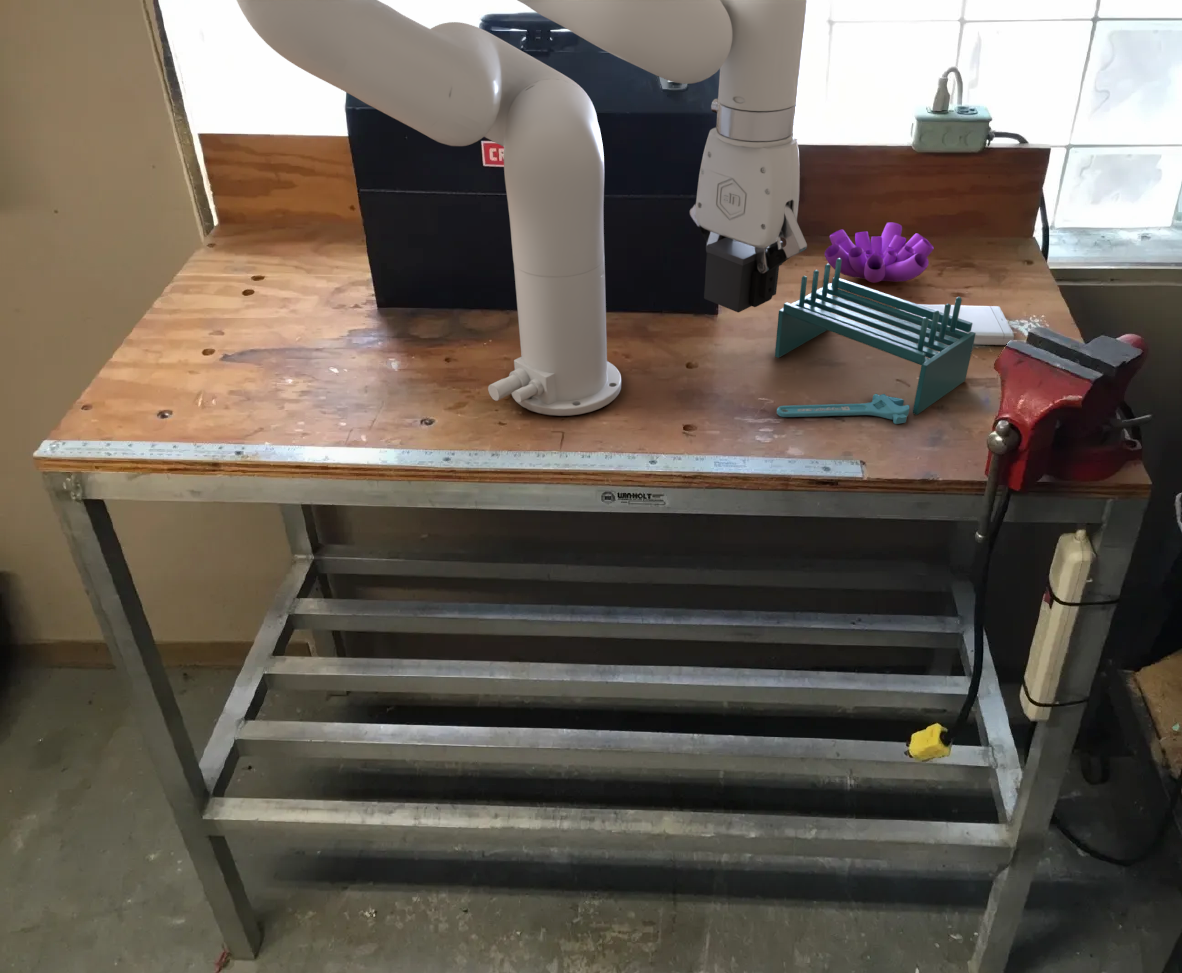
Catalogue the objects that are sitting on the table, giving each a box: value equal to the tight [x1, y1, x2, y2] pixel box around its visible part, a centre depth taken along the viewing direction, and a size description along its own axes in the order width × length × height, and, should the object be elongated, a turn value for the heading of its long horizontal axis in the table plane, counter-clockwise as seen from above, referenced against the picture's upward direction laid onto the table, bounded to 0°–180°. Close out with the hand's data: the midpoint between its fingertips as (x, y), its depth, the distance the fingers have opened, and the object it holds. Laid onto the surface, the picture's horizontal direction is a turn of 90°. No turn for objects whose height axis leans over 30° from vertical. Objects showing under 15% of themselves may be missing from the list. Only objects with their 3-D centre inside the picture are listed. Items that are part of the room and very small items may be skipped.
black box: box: [703, 237, 784, 313], centre depth 105 cm, size 7×5×6 cm
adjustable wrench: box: [776, 393, 911, 425], centre depth 105 cm, size 14×1×5 cm
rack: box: [774, 258, 976, 416], centre depth 111 cm, size 10×19×10 cm, turn 43°
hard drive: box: [896, 303, 1015, 346], centre depth 120 cm, size 2×8×12 cm
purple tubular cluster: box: [824, 222, 934, 284], centre depth 131 cm, size 11×15×10 cm
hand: (740, 292), depth 106 cm, fingers closed on black box, 4 cm apart
